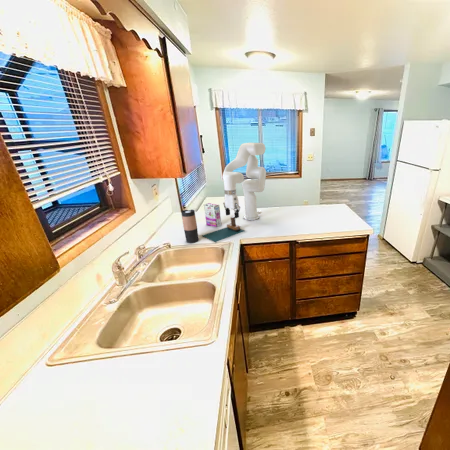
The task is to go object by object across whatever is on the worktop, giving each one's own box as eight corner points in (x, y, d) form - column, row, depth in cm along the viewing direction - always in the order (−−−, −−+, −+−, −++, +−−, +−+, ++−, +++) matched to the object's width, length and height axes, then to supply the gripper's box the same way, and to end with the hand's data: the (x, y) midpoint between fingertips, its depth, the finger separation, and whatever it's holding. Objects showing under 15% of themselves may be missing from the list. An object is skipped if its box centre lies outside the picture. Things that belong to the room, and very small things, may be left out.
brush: (231, 227, 175) (230, 215, 171) (240, 230, 169) (239, 218, 166) (227, 228, 172) (226, 216, 168) (236, 232, 166) (235, 219, 163)
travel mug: (190, 244, 148) (186, 213, 141) (183, 241, 152) (178, 211, 145) (201, 240, 154) (197, 210, 147) (194, 237, 158) (189, 208, 151)
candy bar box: (222, 225, 179) (219, 204, 174) (217, 227, 175) (214, 206, 169) (211, 223, 184) (208, 202, 178) (206, 225, 180) (203, 204, 174)
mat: (231, 226, 178) (231, 225, 178) (245, 231, 169) (245, 230, 169) (202, 236, 160) (202, 235, 160) (216, 242, 151) (216, 241, 151)
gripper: (243, 193, 158) (244, 217, 164) (227, 189, 168) (229, 212, 174) (233, 194, 153) (235, 220, 159) (218, 191, 163) (220, 215, 168)
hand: (232, 216), depth 166 cm, fingers open, 9 cm apart
